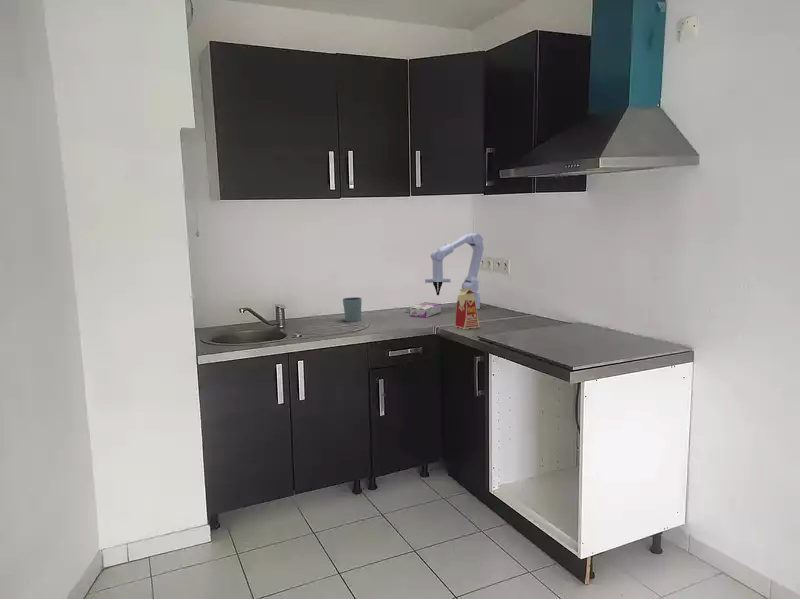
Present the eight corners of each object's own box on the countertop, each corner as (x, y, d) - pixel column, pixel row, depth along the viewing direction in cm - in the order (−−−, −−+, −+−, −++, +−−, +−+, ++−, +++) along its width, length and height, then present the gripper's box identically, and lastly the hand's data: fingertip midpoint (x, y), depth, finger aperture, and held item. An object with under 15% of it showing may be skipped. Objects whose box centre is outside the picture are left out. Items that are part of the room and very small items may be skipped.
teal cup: (357, 322, 309) (356, 300, 307) (340, 321, 312) (339, 299, 310) (365, 319, 318) (364, 297, 316) (348, 318, 321) (347, 296, 320)
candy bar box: (425, 310, 337) (409, 316, 324) (424, 302, 336) (408, 307, 323) (441, 312, 331) (426, 318, 318) (441, 303, 330) (425, 308, 317)
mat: (431, 309, 345) (431, 308, 344) (431, 313, 332) (431, 312, 332) (406, 309, 346) (406, 308, 346) (404, 313, 333) (404, 312, 333)
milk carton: (479, 327, 288) (479, 287, 285) (464, 329, 283) (464, 288, 280) (468, 324, 296) (468, 285, 293) (453, 326, 291) (453, 286, 288)
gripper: (424, 272, 331) (425, 296, 333) (450, 271, 330) (450, 295, 332) (425, 271, 338) (425, 294, 340) (450, 270, 337) (450, 294, 339)
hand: (437, 295), depth 336 cm, fingers closed
